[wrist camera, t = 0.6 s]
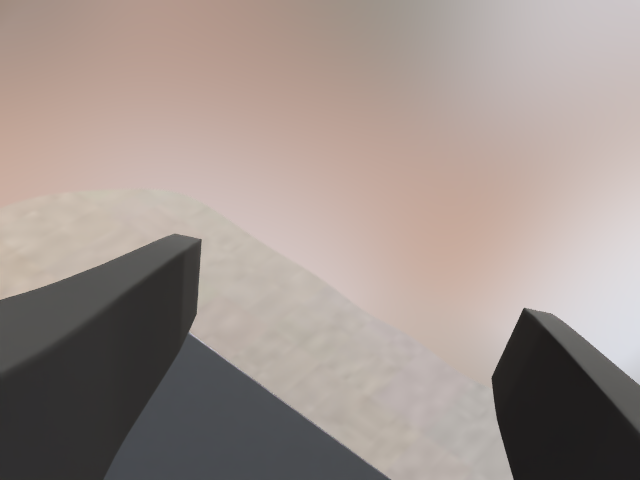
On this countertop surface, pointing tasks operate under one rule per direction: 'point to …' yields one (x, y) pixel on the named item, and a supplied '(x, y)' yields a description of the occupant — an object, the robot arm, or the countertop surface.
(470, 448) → the countertop surface
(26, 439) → the robot arm
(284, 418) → the dark grey drawer cabinet
